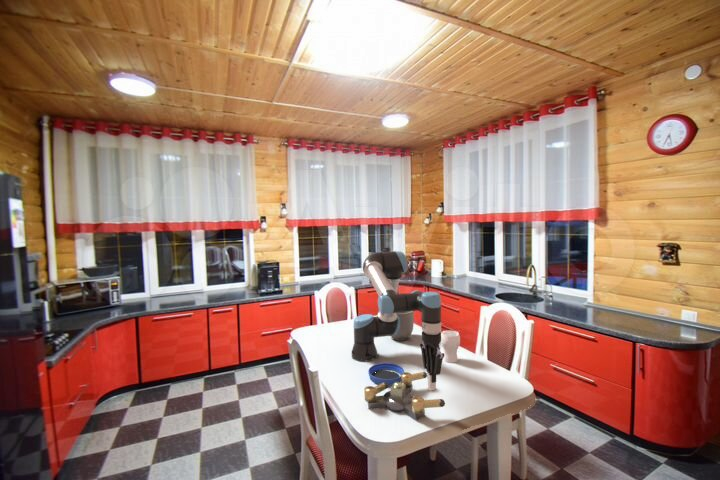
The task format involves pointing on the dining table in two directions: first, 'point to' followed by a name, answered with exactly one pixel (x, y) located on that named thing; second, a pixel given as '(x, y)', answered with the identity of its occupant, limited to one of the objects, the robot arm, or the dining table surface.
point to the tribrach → (397, 400)
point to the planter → (404, 325)
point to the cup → (450, 345)
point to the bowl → (385, 373)
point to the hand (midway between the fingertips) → (431, 388)
